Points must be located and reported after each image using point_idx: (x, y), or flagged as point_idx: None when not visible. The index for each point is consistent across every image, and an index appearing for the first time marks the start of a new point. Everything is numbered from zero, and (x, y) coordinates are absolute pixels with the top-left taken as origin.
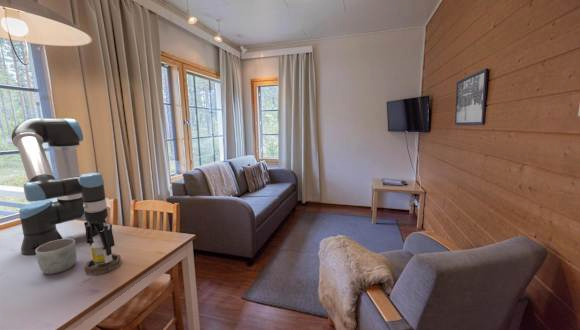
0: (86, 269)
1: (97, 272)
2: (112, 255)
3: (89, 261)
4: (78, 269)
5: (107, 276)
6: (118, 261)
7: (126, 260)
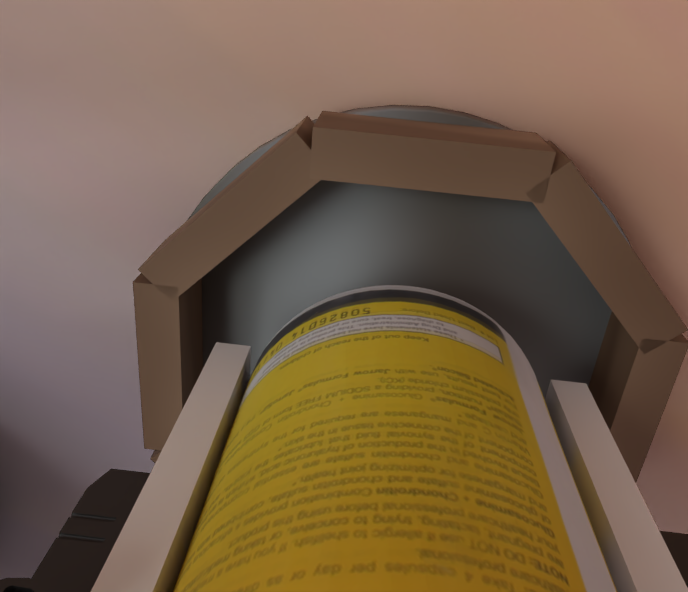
0: None
1: None
2: (357, 179)
3: (163, 443)
4: (103, 451)
5: (662, 500)
6: (676, 323)
7: (643, 94)
